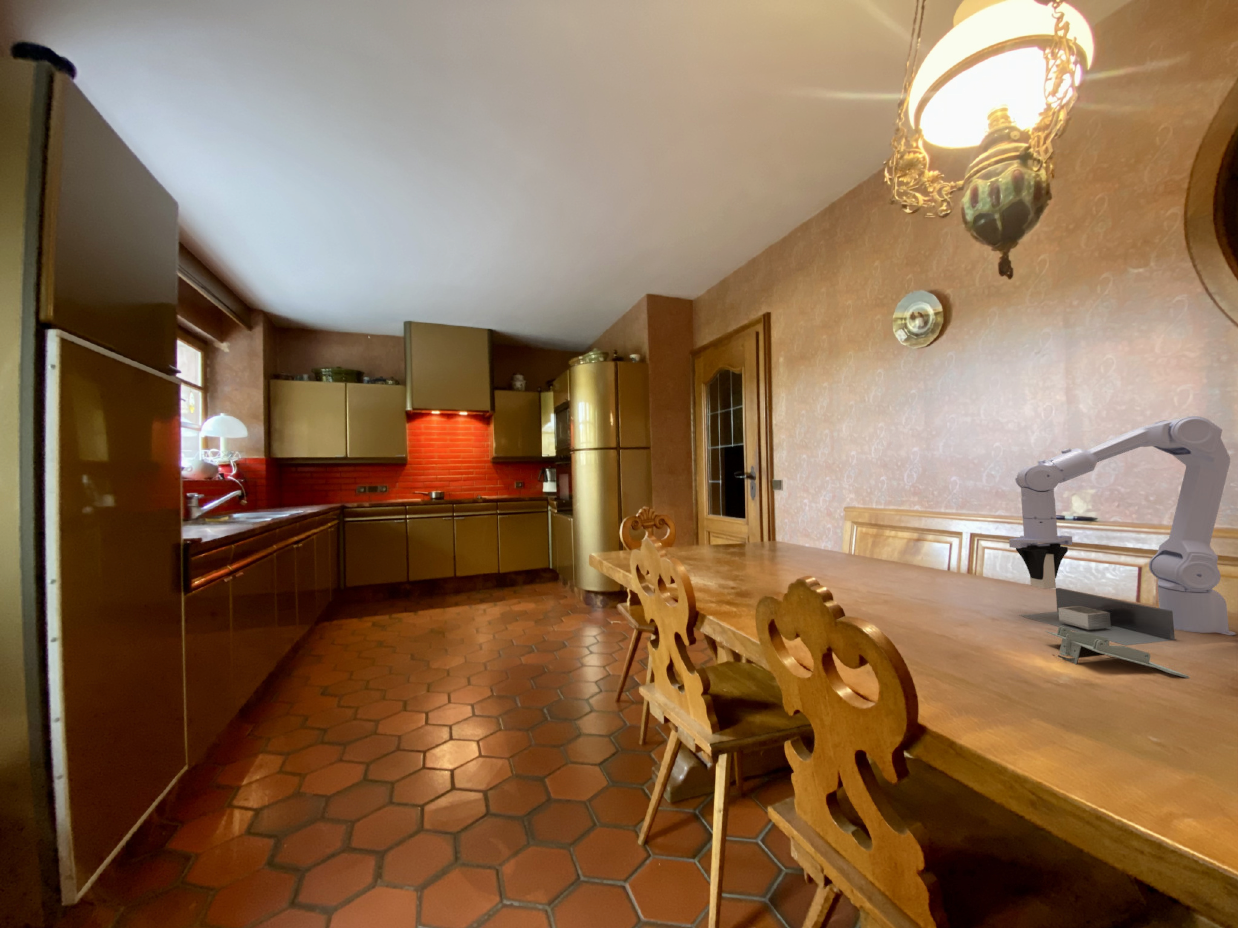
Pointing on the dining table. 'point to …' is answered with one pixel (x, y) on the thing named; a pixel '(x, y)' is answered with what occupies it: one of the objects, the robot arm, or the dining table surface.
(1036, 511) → the robot arm
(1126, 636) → the mounting board
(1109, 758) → the dining table surface
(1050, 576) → the beige rectangular block
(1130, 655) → the metal bracket
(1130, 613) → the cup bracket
